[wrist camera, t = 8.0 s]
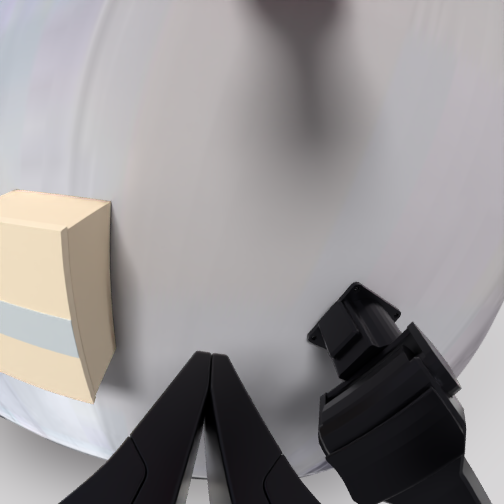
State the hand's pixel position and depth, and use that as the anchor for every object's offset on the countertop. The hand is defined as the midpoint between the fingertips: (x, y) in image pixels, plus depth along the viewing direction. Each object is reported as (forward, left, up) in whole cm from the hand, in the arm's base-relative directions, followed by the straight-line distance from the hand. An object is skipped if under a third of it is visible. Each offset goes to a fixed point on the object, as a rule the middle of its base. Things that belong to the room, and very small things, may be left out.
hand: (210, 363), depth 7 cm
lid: (+10, +11, -7) cm, 17 cm away
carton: (+10, +11, -13) cm, 20 cm away
